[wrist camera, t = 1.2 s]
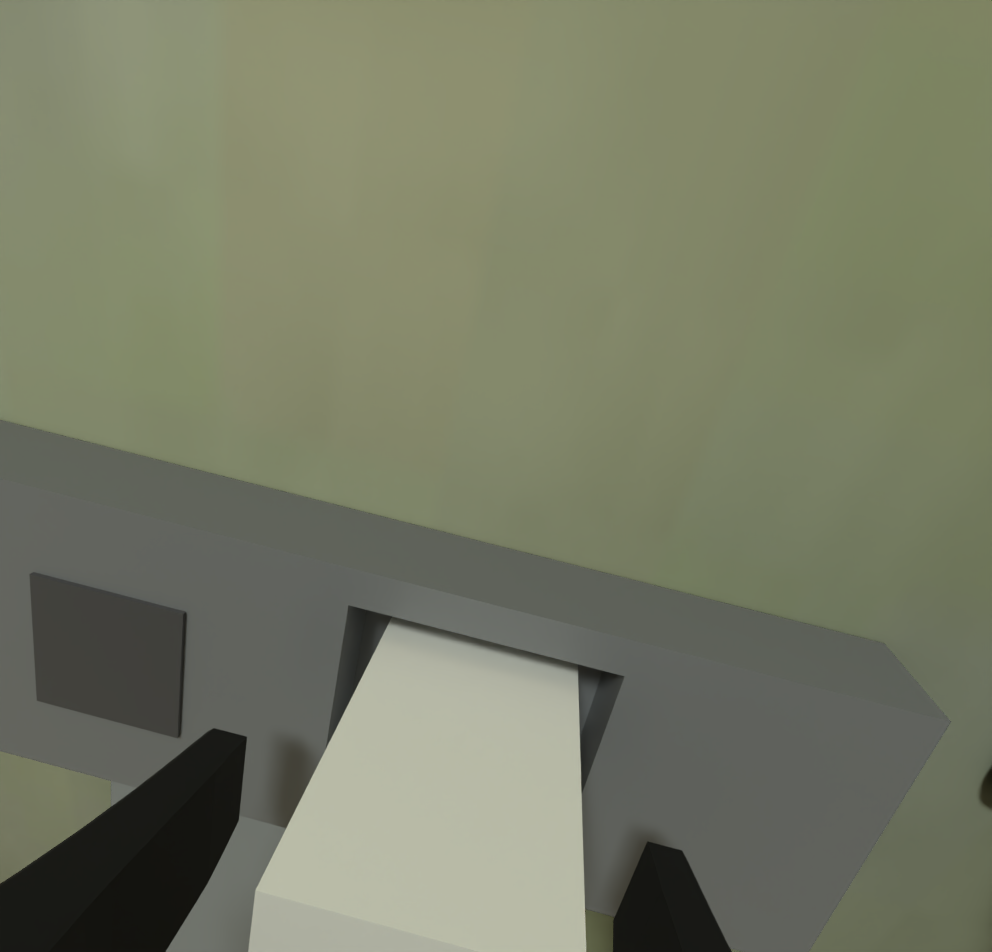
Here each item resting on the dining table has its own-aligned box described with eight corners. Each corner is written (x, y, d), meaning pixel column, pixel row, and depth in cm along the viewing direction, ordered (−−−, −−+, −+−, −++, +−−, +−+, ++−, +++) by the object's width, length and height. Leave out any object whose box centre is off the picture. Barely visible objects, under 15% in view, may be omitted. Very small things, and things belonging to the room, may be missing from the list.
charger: (576, 646, 13) (587, 991, 7) (533, 782, 14) (508, 1172, 8) (399, 601, 13) (251, 899, 7) (373, 740, 14) (229, 1092, 8)
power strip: (884, 643, 13) (964, 737, 10) (765, 865, 15) (806, 987, 13) (-428, 312, 14) (-658, 322, 11) (-348, 569, 16) (-523, 627, 14)
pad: (468, 844, 16) (466, 857, 16) (407, 1056, 20) (404, 1071, 19) (121, 750, 17) (110, 761, 16) (120, 976, 20) (111, 989, 20)
